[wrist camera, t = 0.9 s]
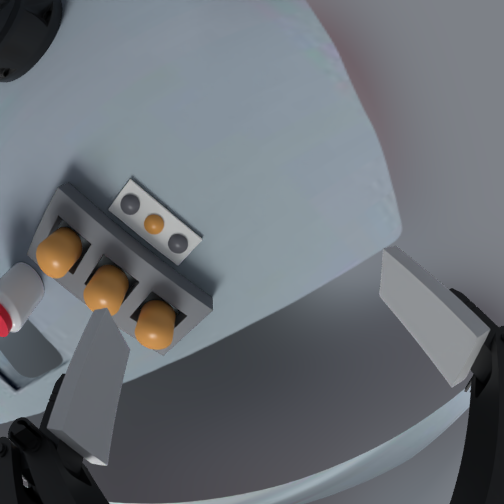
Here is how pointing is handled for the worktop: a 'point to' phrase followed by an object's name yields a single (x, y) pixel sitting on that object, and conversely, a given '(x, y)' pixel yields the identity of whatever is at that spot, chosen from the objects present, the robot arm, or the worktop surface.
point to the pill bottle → (18, 296)
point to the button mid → (106, 289)
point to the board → (120, 264)
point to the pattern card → (154, 223)
